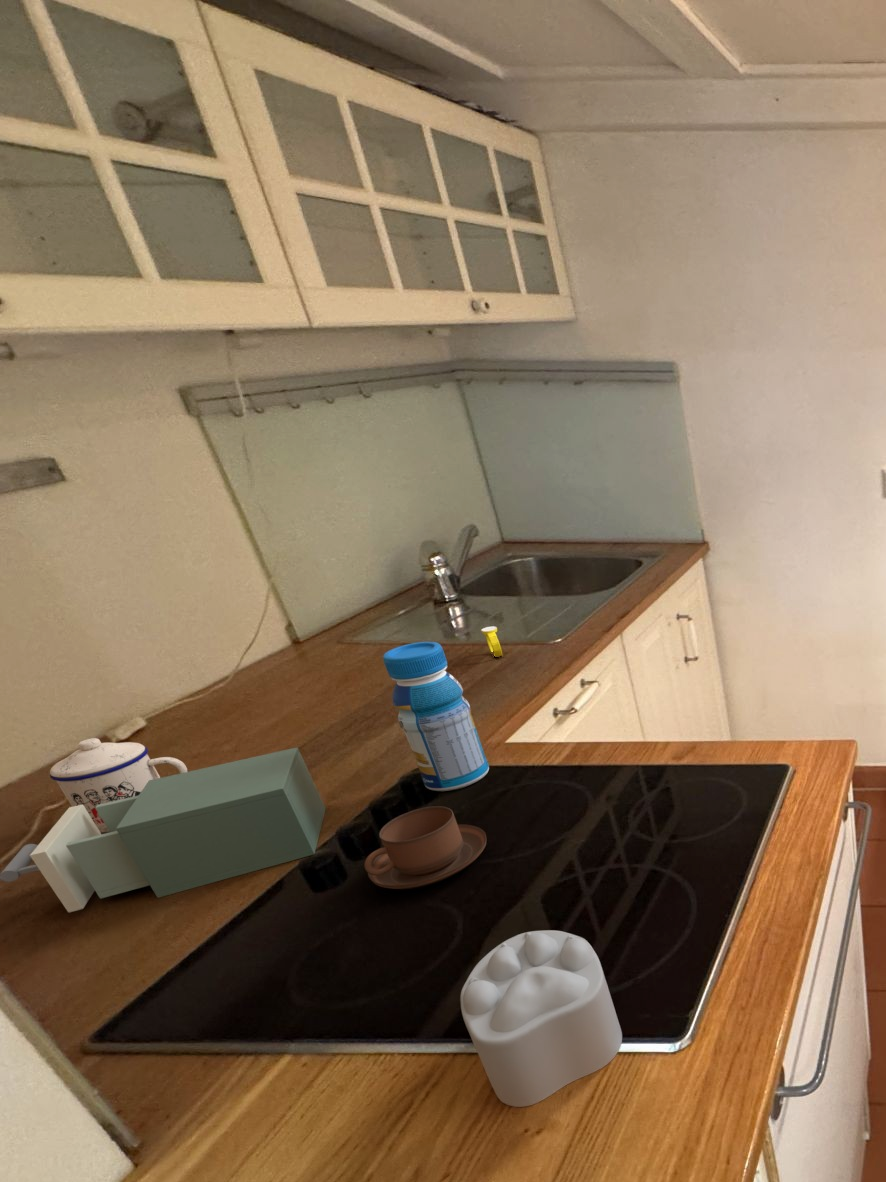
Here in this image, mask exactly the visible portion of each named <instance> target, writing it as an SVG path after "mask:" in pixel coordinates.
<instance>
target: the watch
mask: <svg viewBox="0 0 886 1182" xmlns="http://www.w3.org/2000/svg"><path fill="white" fill-rule="evenodd" d="M480 632H481V634H482V635H485V638H486V643H487V646H488V648H489V651H490V653H491V652H493V651H494V656H495V657H497V656H501V655H502V656H503V651H502V646H501V644H500V641H499V639H498V636H497V634H496V633H497V632H498V627H497V626H494V625H493V626H486V627H483V628H481V629H480ZM494 656H493V657H494Z"/></svg>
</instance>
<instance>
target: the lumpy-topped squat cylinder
mask: <svg viewBox="0 0 886 1182" xmlns="http://www.w3.org/2000/svg"><path fill="white" fill-rule="evenodd" d="M459 998H460V999H459V1001H460V1009H461V1015H462V1018H463V1022H464V1024H465V1027H466V1029H467V1032H468V1033H469V1036H470V1038H471V1041H472V1043H473V1045H474V1049H475V1050H476V1053H477V1055H478V1057H479V1060H480V1062H481V1065H482V1066H483V1069H484V1071H485V1074H486V1077H487V1079H488V1081H489V1083H490V1085H491V1087H492V1089H493V1092H494V1093H495V1095H496V1097H497V1098H498V1099H499V1101H500V1102H501V1103H503V1104H505V1105H507V1106H510V1107H515V1108H523V1107H525V1108H526V1107H530V1106H532V1105H536V1104H538V1103H540V1102H542V1101H543V1100H545V1099H547V1098H549V1097H550V1096H552V1095H553V1094H555V1093H557V1092H558V1091H559V1090H561V1089H562V1088H564V1087H566V1086H567V1085H569V1084H571V1083H573V1082H575V1081H577V1080H579V1079H581V1078H584V1077H586V1076H589V1075H591V1074H593V1073H596V1072H598V1071H599V1070H601V1069H603V1068H604V1067H606V1066H607V1065H609V1064H610V1063H611V1062H612V1061H613V1060H614V1058H615V1057H616V1056H617V1054H618V1052H619V1051H620V1049H621V1046H622V1043H623V1031H622V1028H621V1025H620V1022H619V1019H618V1014H617V1013H616V1009H615V1006H614V1002H613V999H612V996H611V993H610V989H609V986H608V983H607V980H606V976H605V973H604V970H603V967H602V964H601V961H600V959H599V956H598V955H597V953H596V951H595V950H594V948H593V947H592V945H591V944H590V943H589V942H588V940H586V938H584V937H582V936H579V935H576V934H573V933H569V932H566V931H561V930H555V929H553V930H551V929H547V930H532V931H527V932H523V933H520V934H517V935H514V936H512V937H510V938H508V939H506V940H505V941H503V942H501V943H500V944H498V945H496V947H494V948H493V949H491V951H489V952H488V953H486V954H485V956H484V957H482V959H481V960H479V962H478V963H476V965H475V966H474V967H473V969H472V970H471V972H470V974H469V975H468V976H467V979H466V981H465V983H464V984H463V986H462V988H461V991H460V997H459Z"/></svg>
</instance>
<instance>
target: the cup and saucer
mask: <svg viewBox="0 0 886 1182" xmlns="http://www.w3.org/2000/svg"><path fill="white" fill-rule="evenodd" d="M456 819H457V818H456V817H455V814H454V812H453V810H452V809H451V808H449V807H447V806H441V805H440V806H434V805H433V806H425V807H421V808H417V809H414V810H411V811H408V812H406V813H403V814H401V815H398V816H396V817H394V818H393V819H391V820H390V821H388V822H387V823H385V825H383V826H382V828H381V829H380V830H379V833H378V838H379V839H380V841H381V843H382V845H383V847H380V848H378V849H376V850H374V851H372V852H371V853H369V855H368V856H367V857H366V859H365V861H364V869H365V871H366V872H367V876H368V878H369V879H370V881H371V882H372V883H373V884H374V885H376V886H378V887H381V888H385V889H390V890H410V889H417V888H421V887H425V886H430V885H432V884H435V883H438V882H441V881H443V880H446V879H448V878H450V877H453V876H454V875H456V874H458V873H460V872H461V871H463V870H464V869H466V868H468V867H469V866H470V865H471V864H473V863H474V862H475V861H476V860H477V859H478V857H479V856H480V855H481V854H482V852H483V851H484V850H485V848H486V845H487V835H486V832H485V831H484V830H483V829H482V828H480V827H478V826H475V825H471V824H458V823H457V820H456Z"/></svg>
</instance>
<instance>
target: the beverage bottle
mask: <svg viewBox="0 0 886 1182" xmlns="http://www.w3.org/2000/svg"><path fill="white" fill-rule="evenodd" d="M382 658H383V664H384V666H385V668H386V671H387V674H388V676H389V677H390V678H391V680H392V681H395V682H396V683H395V685H394V688H393V692H392V705H393V707H394V709H396V710H397V711H398V715H397V720H398V724H399V727H400V728H401V729H402V730H403V732H404V735H405V737H406V740H407V743H408V745H409V747H410V750H411V753H412V755H413V757H414V760H415V763H416V765H417V768H418V770H419V773H420V776H421V780H422V782H423V785H424V786H425V788H426V789H428V790H430V791H434V792H448V791H456V790H459V789H460V790H461V789H463V788H466V787H468V786H471V785H474V784H475V783H477V782H479V781H480V780H482V779H484V778H485V777H486V775H487V774H488V772H489V770H490V765H489V762H488V759H487V758H486V754H485V752H484V749H483V745H482V742H481V740H480V736H479V734H478V730H477V727H476V725H475V721H474V719H473V716H472V712H471V705H470V703H469V701H468V700H467V698H465V697H464V696H463V693H464V688H463V686H462V684H461V683H460V682H459V681H458V680H457V678H456V677H454V676H453V675H452V674H450V673H449V672H448V671H447V669H448V661H447V657H446V655H445V651H444V649H443V647H442V645H441V644H440V643H438V642H437V641H436V642H435V641H419V642H412V643H408V644H403V645H399V646H396V647H394V648H391V649H390V650H387V651H386V652H384V654H383V655H382Z"/></svg>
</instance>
